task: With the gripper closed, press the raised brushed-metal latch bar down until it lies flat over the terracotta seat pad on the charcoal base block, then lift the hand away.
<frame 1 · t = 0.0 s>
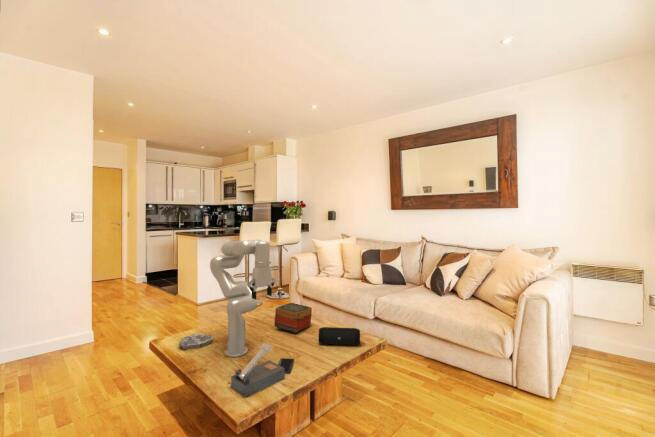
hand: (261, 297, 161), 37 cm above the table, tool pointing down, fingers open, 9 cm apart
phone: (285, 367, 162), on the table
latch bar: (254, 360, 144), point 11 cm above the table, hinge at 35.0°
brain slice: (195, 344, 189), on the table
base block: (258, 382, 146), on the table
decorative box: (293, 328, 217), on the table
portable speaker: (339, 344, 192), on the table
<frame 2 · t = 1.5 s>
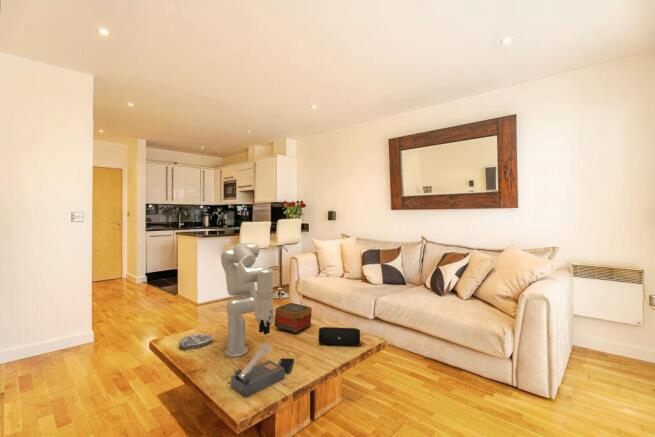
hand: (264, 332, 148), 23 cm above the table, tool pointing down, fingers closed
nothing on the table moved.
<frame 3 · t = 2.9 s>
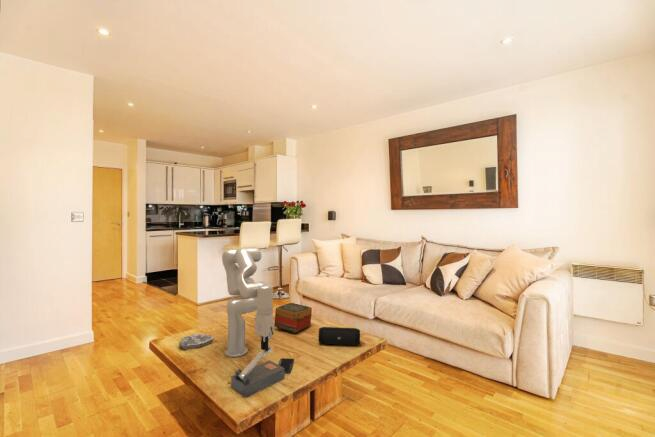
hand: (264, 348, 148), 15 cm above the table, tool pointing down, fingers closed
latch bar: (255, 361, 144), point 11 cm above the table, hinge at 31.6°
everything else where it was.
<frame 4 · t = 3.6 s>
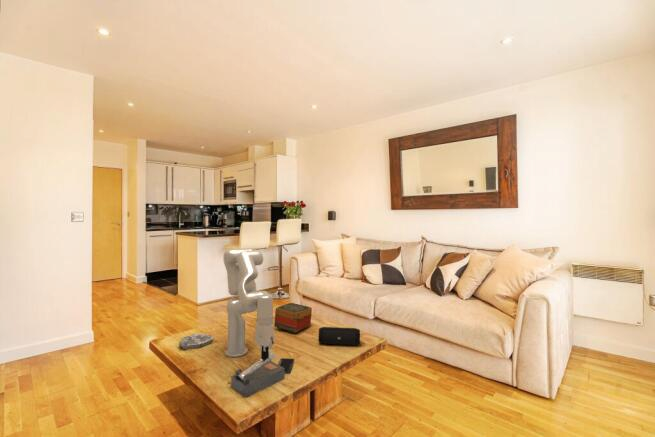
hand: (264, 358, 148), 11 cm above the table, tool pointing down, fingers closed
latch bar: (256, 365, 145), point 9 cm above the table, hinge at 15.2°, touching gripper
everything else where it was.
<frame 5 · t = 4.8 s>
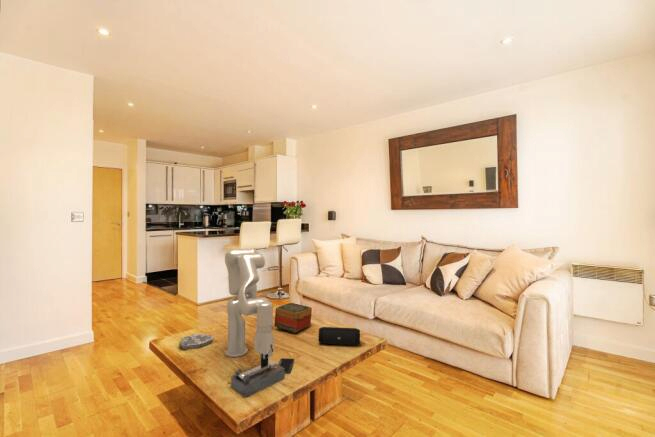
hand: (264, 365, 148), 7 cm above the table, tool pointing down, fingers closed
latch bar: (257, 369, 145), point 7 cm above the table, hinge at 0.4°, touching gripper
everything else where it was.
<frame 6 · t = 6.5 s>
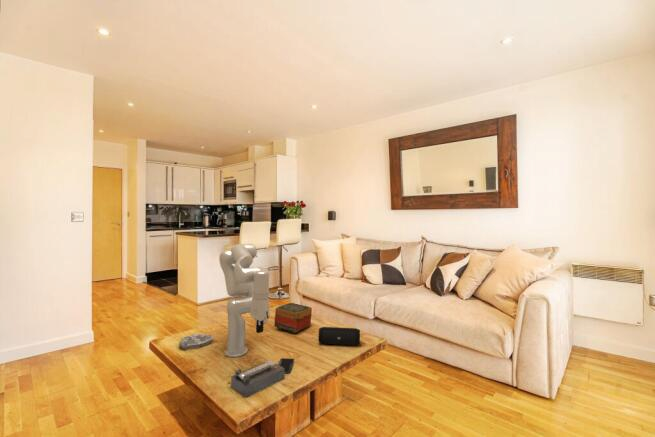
hand: (259, 331, 152), 22 cm above the table, tool pointing down, fingers closed
latch bar: (257, 369, 145), point 7 cm above the table, hinge at 0.4°
everything else where it was.
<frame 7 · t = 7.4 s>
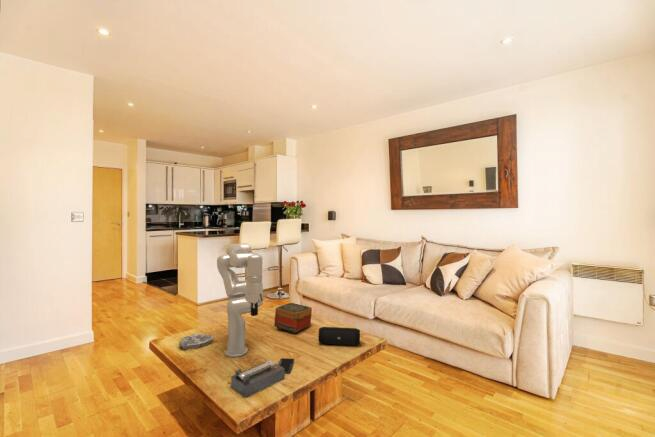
hand: (254, 315, 155), 29 cm above the table, tool pointing down, fingers closed
nothing on the table moved.
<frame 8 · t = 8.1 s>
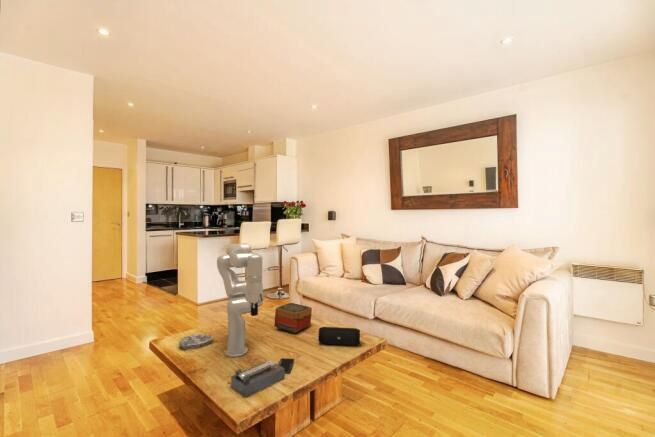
hand: (254, 315, 155), 29 cm above the table, tool pointing down, fingers closed
nothing on the table moved.
at the end: latch bar at +0° (first picture: +35°) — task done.
